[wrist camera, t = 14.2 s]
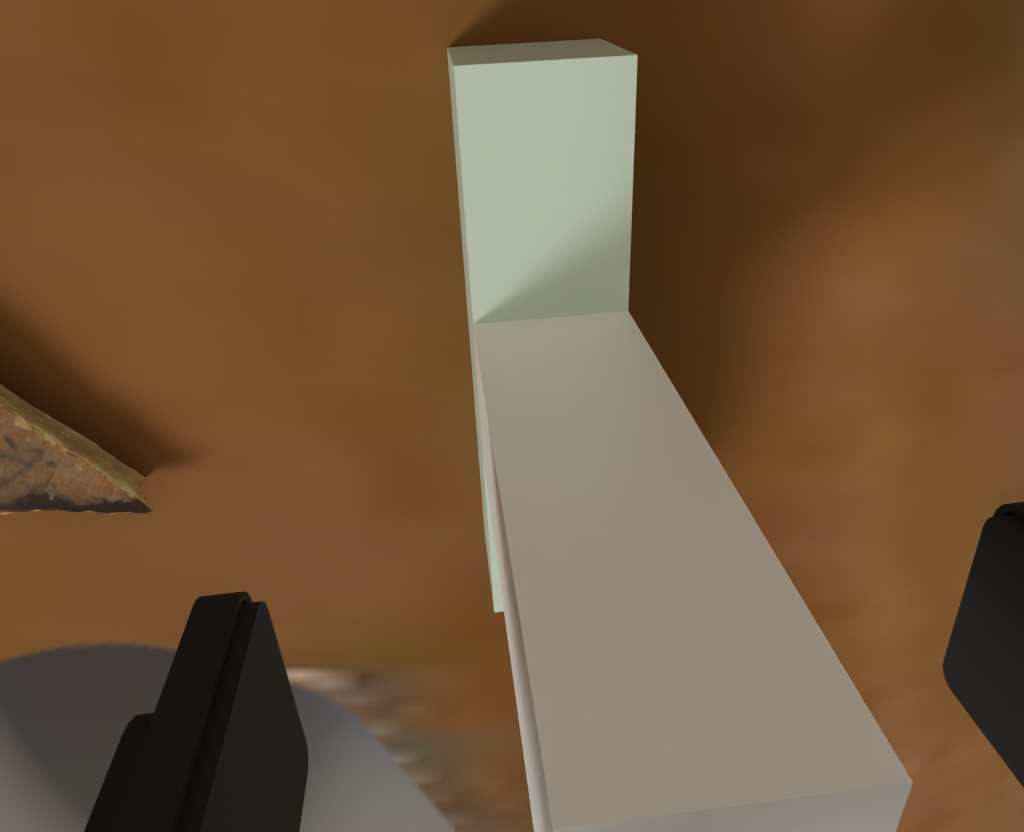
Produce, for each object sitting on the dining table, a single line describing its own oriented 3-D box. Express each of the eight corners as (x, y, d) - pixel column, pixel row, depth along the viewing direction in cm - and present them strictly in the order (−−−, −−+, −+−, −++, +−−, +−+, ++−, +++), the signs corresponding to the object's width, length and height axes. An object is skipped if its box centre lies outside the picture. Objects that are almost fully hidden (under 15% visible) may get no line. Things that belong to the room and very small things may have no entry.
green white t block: (447, 46, 15) (539, 304, 4) (600, 38, 15) (1099, 259, 4) (484, 532, 21) (562, 1170, 10) (593, 521, 21) (788, 1134, 10)
